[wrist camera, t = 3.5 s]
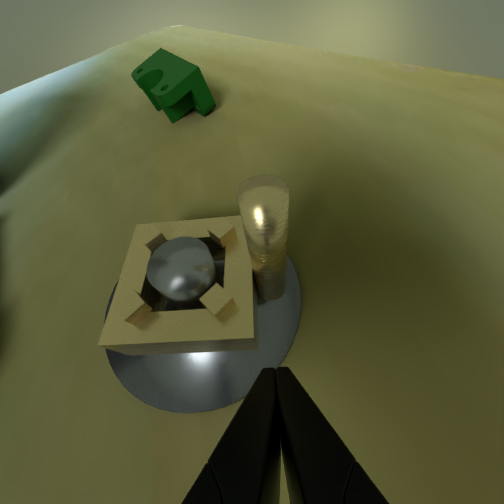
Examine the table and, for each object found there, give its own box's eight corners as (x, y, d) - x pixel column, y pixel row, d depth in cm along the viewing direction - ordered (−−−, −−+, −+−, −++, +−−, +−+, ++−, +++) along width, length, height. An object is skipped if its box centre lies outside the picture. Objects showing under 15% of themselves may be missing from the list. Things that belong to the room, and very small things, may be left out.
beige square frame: (292, 348, 14) (305, 287, 6) (129, 355, 14) (-18, 308, 7) (280, 238, 18) (279, 130, 11) (156, 248, 19) (80, 154, 12)
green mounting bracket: (172, 132, 40) (128, 76, 34) (198, 110, 40) (159, 51, 35) (187, 134, 30) (129, 56, 25) (221, 105, 31) (172, 22, 25)
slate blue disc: (316, 409, 13) (334, 412, 9) (83, 415, 14) (-12, 420, 10) (288, 220, 21) (290, 168, 16) (139, 233, 22) (101, 188, 17)
